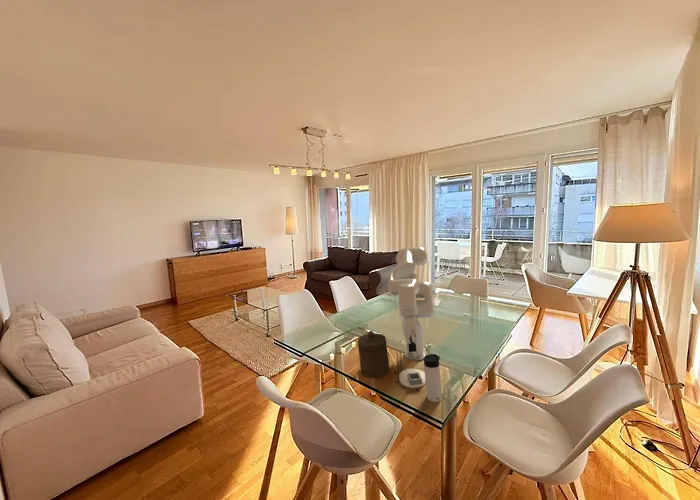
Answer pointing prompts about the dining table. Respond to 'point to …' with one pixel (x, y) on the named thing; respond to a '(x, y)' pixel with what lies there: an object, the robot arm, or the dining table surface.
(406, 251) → the robot arm
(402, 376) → the dial
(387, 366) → the wooden container
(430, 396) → the travel mug
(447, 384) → the dining table surface
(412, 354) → the peg
